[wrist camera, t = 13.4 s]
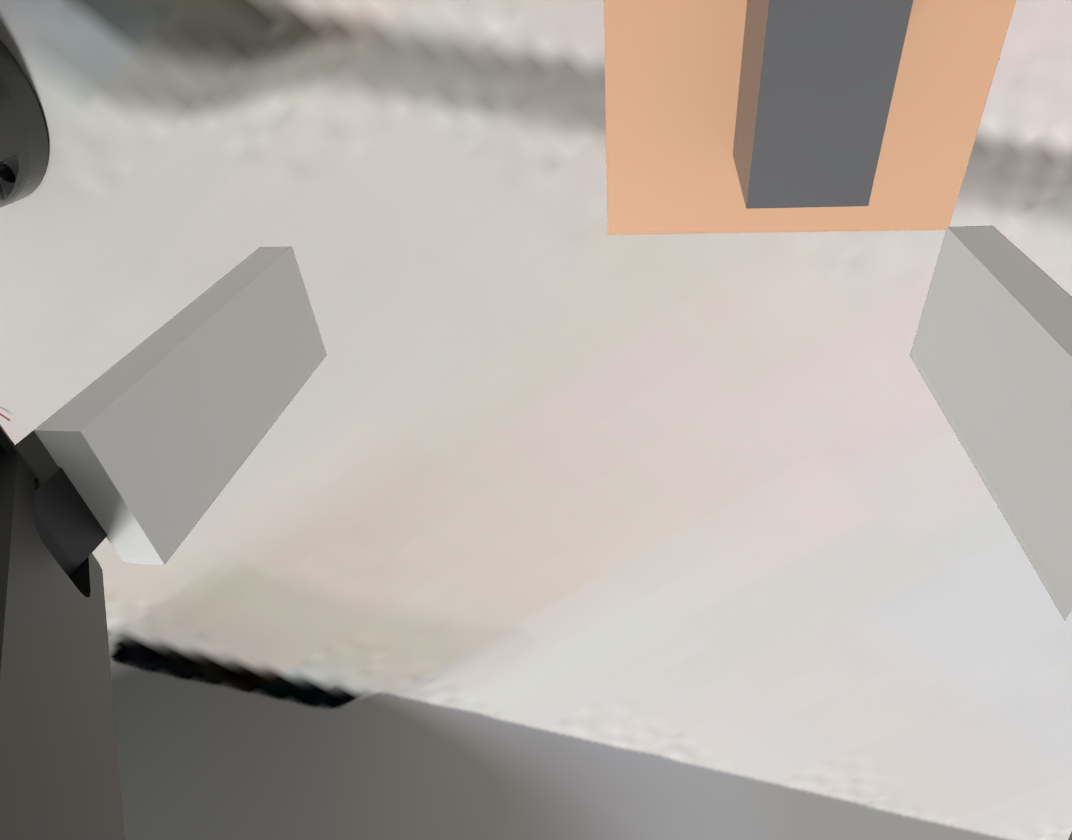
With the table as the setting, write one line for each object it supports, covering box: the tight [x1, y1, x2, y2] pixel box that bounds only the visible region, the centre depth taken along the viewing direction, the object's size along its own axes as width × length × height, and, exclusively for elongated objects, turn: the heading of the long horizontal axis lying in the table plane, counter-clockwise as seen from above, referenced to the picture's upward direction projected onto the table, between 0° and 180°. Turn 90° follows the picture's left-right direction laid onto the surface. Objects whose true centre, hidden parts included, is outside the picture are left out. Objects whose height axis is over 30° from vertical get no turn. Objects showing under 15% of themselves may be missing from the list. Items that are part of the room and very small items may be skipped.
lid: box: [604, 0, 1016, 235], centre depth 24 cm, size 15×15×8 cm
